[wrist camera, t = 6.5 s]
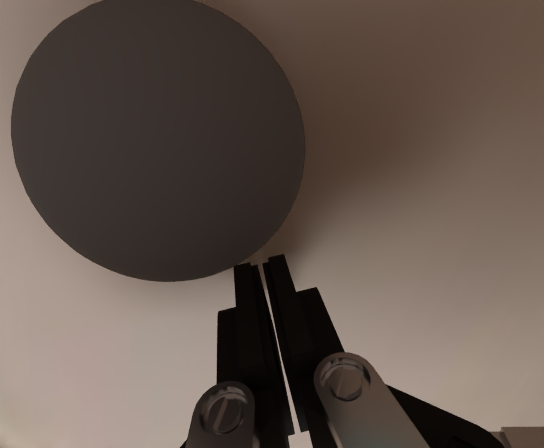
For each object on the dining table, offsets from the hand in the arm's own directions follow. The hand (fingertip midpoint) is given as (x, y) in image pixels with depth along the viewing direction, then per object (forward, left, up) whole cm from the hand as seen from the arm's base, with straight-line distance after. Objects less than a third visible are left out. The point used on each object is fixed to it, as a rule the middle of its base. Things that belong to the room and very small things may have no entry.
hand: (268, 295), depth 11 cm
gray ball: (0, -6, +1) cm, 6 cm away
